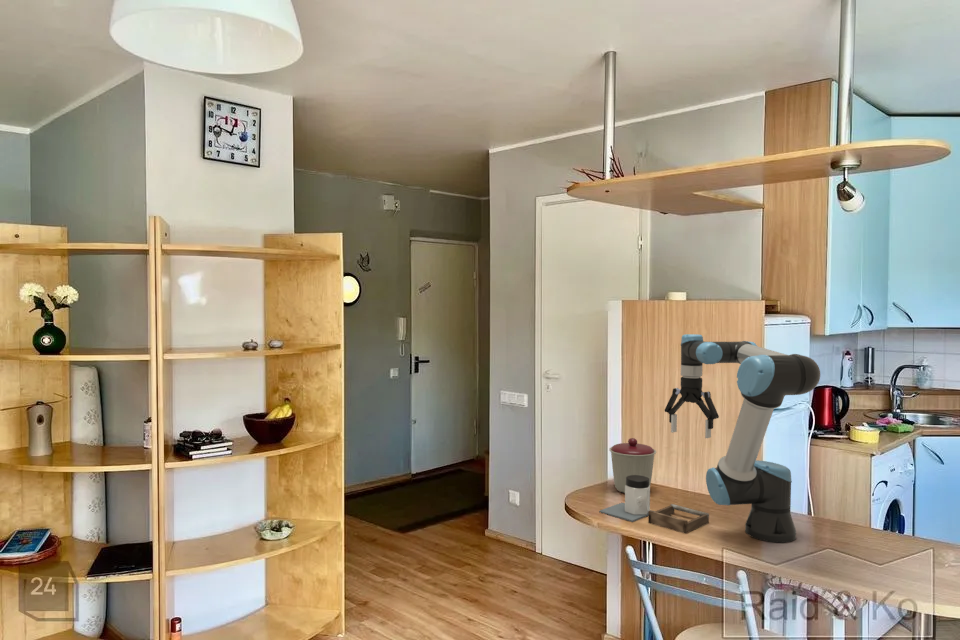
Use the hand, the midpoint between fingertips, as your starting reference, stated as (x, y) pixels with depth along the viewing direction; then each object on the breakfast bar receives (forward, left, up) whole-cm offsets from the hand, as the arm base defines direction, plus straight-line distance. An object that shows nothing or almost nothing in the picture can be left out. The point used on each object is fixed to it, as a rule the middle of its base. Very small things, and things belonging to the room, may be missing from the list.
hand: (690, 434), depth 241 cm
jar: (+9, +20, -26) cm, 34 cm away
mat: (+12, +22, -27) cm, 37 cm away
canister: (+26, -2, -27) cm, 37 cm away
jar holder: (-6, +18, -27) cm, 33 cm away
